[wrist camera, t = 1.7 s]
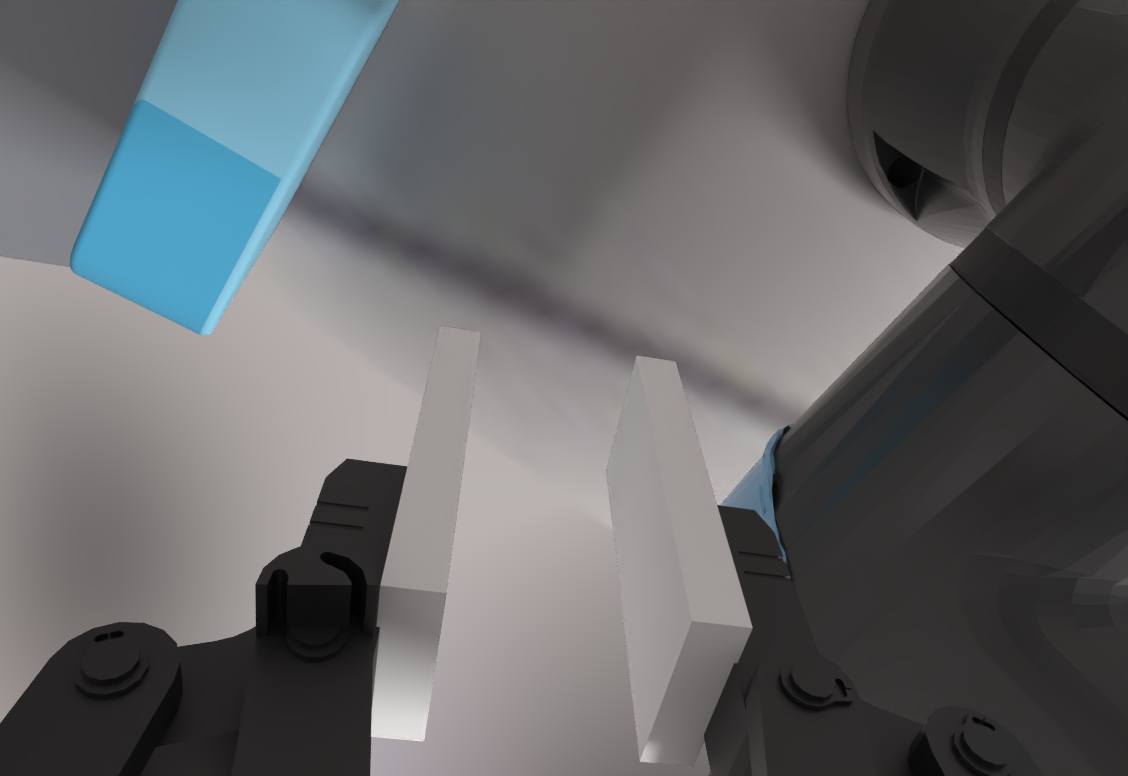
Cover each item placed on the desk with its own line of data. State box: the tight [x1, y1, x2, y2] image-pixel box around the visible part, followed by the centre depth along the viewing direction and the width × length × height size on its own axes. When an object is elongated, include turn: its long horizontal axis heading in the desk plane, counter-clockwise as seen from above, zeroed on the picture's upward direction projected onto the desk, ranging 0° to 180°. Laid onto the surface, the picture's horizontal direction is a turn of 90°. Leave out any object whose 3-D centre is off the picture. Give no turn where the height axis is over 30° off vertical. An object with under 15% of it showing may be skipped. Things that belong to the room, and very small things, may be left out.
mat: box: [0, 0, 178, 267], centre depth 33 cm, size 14×20×1 cm
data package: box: [70, 0, 400, 336], centre depth 29 cm, size 12×4×12 cm, turn 145°
